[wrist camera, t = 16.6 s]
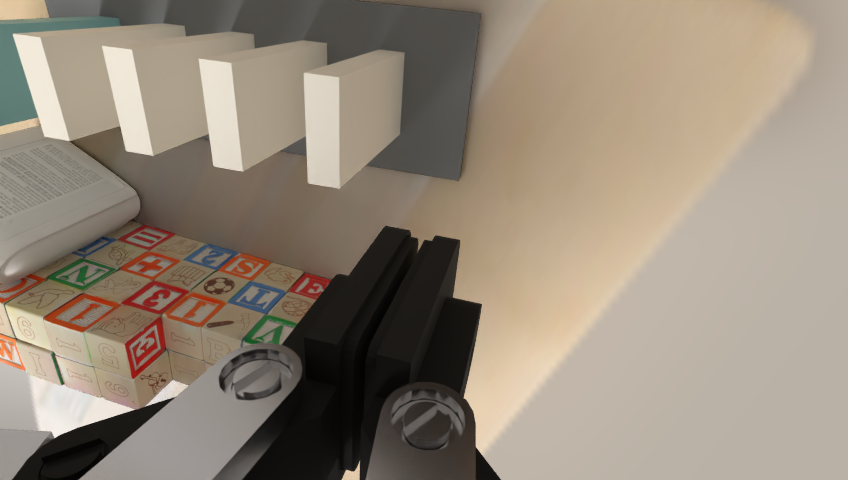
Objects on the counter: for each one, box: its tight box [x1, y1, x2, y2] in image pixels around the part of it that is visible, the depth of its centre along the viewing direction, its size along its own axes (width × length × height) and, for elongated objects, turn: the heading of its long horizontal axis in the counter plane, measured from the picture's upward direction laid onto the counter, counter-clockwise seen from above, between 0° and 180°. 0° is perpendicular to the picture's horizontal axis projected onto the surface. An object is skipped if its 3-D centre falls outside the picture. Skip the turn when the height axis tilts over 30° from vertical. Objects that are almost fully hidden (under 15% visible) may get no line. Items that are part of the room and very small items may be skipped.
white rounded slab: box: [0, 126, 140, 283], centre depth 34 cm, size 10×4×12 cm, turn 56°
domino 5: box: [304, 49, 405, 189], centre depth 25 cm, size 5×2×10 cm, turn 175°
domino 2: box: [13, 23, 186, 141], centre depth 28 cm, size 5×2×10 cm, turn 175°
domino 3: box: [102, 32, 255, 156], centre depth 27 cm, size 5×2×10 cm, turn 175°
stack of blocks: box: [0, 220, 331, 409], centre depth 36 cm, size 21×6×12 cm, turn 81°
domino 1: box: [0, 16, 121, 126], centre depth 29 cm, size 5×2×10 cm, turn 175°
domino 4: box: [199, 40, 327, 172], centre depth 26 cm, size 5×2×10 cm, turn 175°
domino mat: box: [45, 0, 481, 181], centre depth 31 cm, size 10×30×1 cm, turn 85°
